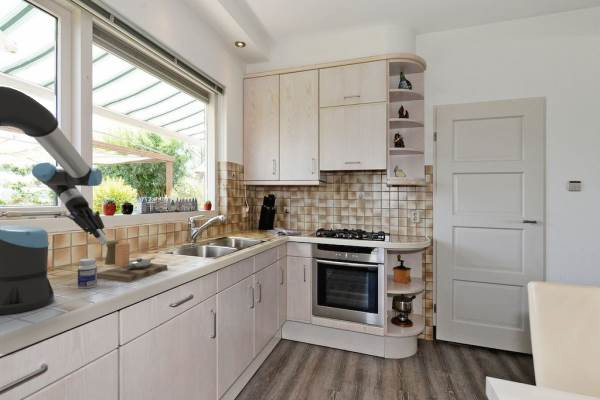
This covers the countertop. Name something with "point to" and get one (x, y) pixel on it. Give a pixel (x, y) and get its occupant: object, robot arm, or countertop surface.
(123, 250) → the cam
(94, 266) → the pill bottle
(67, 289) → the countertop surface
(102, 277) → the wooden board
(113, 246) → the olive flared column
